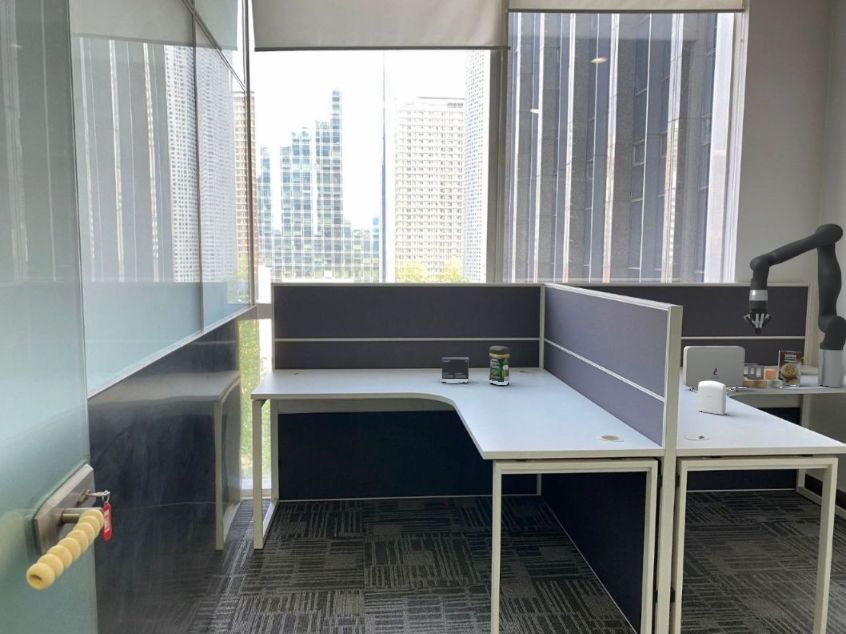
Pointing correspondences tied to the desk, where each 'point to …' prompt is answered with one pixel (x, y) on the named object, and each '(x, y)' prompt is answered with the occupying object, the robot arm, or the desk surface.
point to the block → (770, 374)
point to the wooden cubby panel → (762, 383)
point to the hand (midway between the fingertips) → (757, 335)
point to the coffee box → (789, 367)
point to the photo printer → (712, 397)
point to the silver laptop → (713, 365)
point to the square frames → (753, 376)
